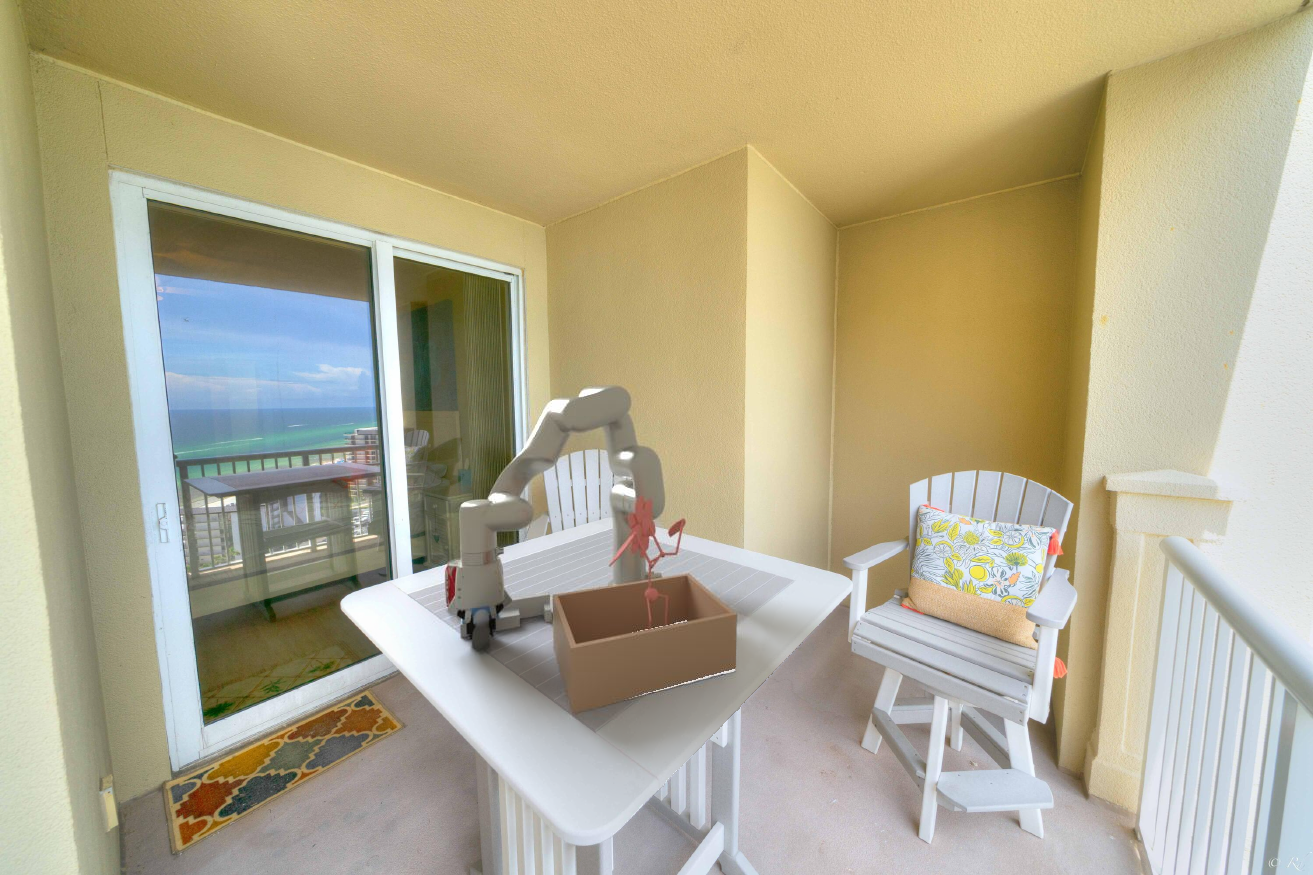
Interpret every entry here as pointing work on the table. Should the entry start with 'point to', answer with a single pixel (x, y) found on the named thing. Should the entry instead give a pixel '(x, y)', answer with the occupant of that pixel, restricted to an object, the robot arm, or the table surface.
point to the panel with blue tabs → (517, 611)
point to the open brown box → (639, 639)
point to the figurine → (647, 542)
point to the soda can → (450, 580)
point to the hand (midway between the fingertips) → (481, 633)
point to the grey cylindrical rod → (481, 630)
